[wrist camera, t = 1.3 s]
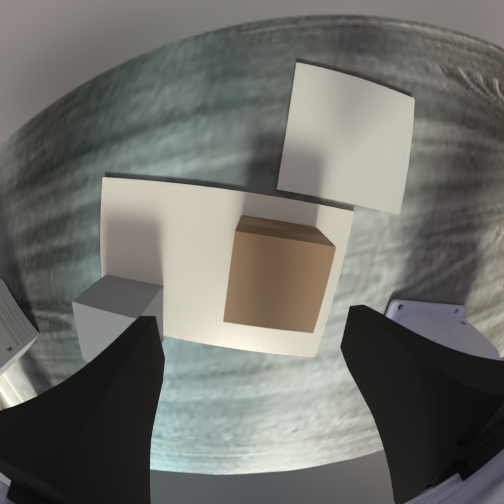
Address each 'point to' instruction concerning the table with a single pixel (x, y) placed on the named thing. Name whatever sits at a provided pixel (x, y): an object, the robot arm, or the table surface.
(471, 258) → the table surface
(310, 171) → the white square plate
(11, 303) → the skincare box
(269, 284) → the walnut block
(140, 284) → the slate block
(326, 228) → the mat
